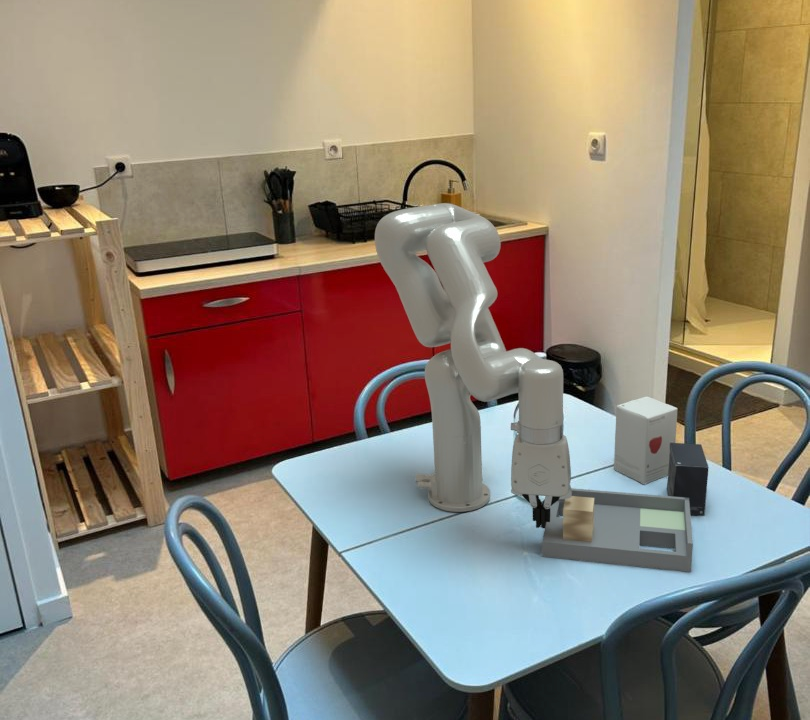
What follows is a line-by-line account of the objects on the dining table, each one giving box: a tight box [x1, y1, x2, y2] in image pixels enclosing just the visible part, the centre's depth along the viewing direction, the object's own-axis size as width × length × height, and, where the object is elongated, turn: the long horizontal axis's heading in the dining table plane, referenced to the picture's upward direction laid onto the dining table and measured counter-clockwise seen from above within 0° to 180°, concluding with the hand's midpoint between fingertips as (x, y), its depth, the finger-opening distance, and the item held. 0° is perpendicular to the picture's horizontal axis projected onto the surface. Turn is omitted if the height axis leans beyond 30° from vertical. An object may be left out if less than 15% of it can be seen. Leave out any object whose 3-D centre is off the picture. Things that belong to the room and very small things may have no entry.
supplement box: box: [613, 395, 678, 485], centre depth 171 cm, size 9×9×15 cm
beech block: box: [562, 496, 594, 542], centre depth 146 cm, size 5×5×6 cm
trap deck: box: [541, 487, 694, 573], centre depth 148 cm, size 25×16×6 cm, turn 74°
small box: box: [666, 442, 709, 516], centre depth 159 cm, size 11×6×10 cm, turn 168°
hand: (541, 524), depth 148 cm, fingers closed
